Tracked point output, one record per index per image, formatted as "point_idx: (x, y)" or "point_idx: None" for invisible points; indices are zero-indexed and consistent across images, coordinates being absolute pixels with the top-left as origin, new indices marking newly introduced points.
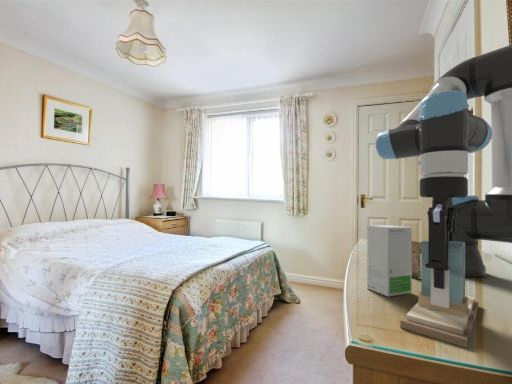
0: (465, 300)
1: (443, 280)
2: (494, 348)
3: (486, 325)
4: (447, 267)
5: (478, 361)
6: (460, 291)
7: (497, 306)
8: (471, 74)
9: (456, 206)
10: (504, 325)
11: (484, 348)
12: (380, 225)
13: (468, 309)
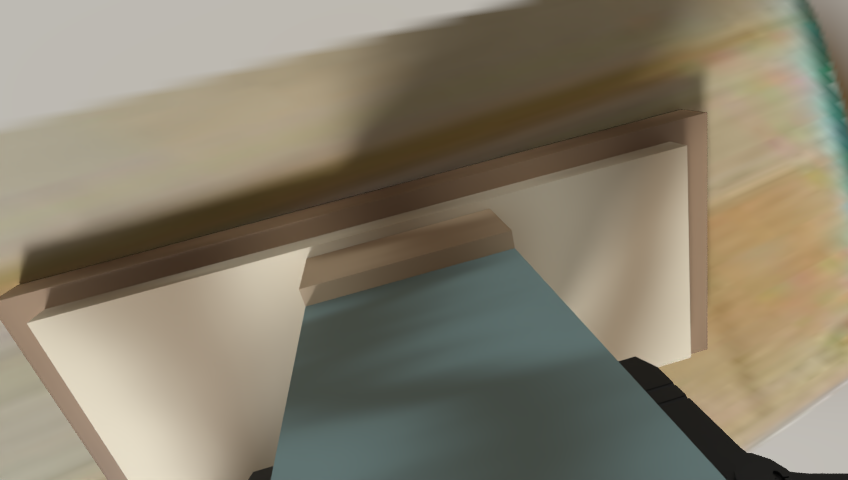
0: (410, 265)
1: (667, 402)
2: (593, 33)
3: (320, 149)
4: (772, 477)
5: (769, 37)
6: (545, 289)
7: None
8: None
9: None
10: (218, 90)
11: (627, 61)
12: None
13: (339, 246)
